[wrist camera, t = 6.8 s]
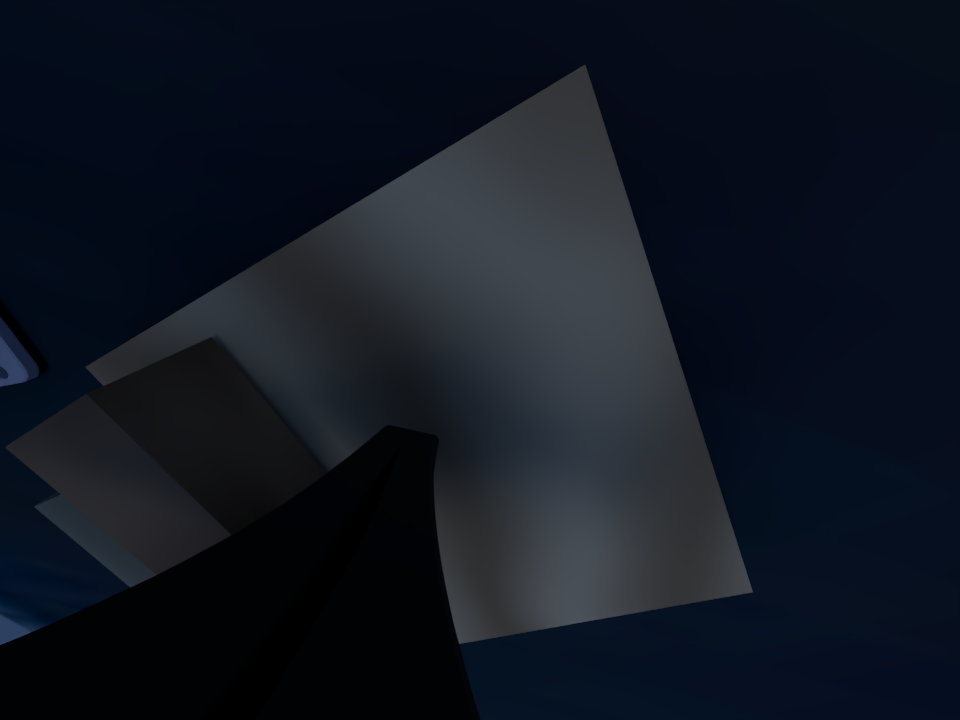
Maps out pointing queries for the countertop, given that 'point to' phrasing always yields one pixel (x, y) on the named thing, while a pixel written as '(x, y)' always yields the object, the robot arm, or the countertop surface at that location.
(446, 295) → the stool seat
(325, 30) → the countertop surface
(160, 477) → the stool leg
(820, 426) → the countertop surface
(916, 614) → the countertop surface
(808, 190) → the countertop surface
